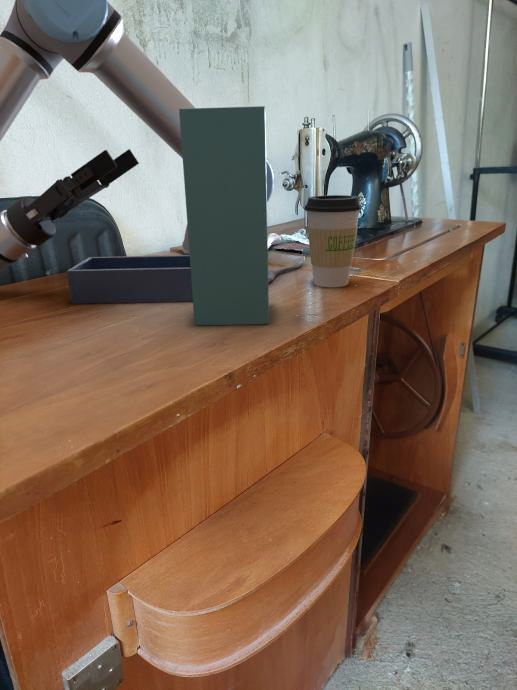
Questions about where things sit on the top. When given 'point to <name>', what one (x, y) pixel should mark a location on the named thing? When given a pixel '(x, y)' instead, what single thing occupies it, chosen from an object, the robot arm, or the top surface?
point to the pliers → (282, 270)
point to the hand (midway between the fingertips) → (123, 157)
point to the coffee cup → (332, 237)
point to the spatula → (273, 239)
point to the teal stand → (226, 213)
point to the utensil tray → (131, 279)
